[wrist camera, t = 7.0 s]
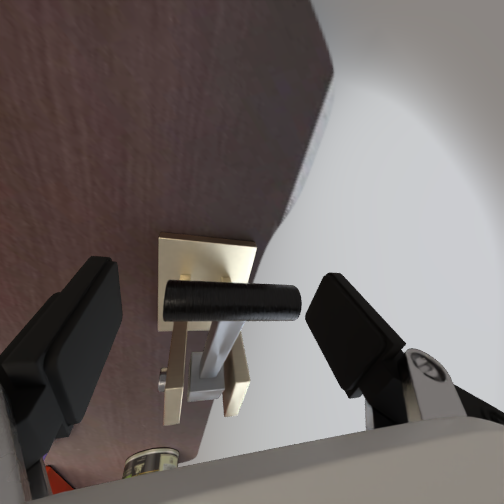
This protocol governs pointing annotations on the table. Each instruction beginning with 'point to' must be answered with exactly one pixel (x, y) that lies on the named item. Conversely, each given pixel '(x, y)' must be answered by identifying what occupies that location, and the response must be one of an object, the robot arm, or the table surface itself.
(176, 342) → the bracket
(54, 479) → the file binder
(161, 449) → the coffee can
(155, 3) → the table surface
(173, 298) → the lever
